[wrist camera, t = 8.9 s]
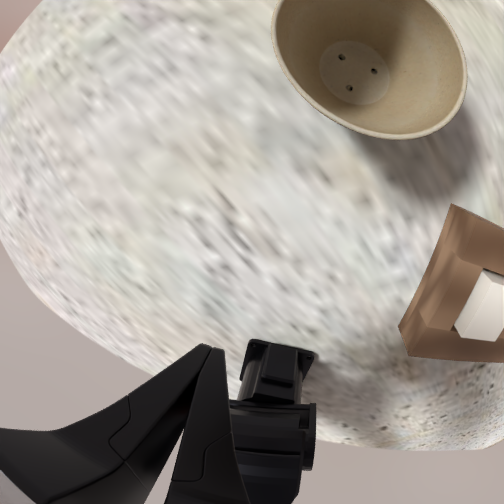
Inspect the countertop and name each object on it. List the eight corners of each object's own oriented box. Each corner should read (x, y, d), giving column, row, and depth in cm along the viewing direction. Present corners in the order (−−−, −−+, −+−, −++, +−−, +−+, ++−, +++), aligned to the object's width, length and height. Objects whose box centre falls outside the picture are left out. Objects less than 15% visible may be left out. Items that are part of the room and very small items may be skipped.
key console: (511, 342, 20) (523, 362, 16) (398, 326, 22) (408, 355, 18) (554, 259, 15) (572, 274, 11) (451, 203, 16) (476, 218, 13)
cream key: (481, 321, 17) (494, 341, 15) (448, 315, 18) (461, 337, 15) (506, 275, 15) (523, 292, 13) (474, 263, 16) (492, 281, 13)
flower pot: (436, 122, 14) (491, 122, 8) (315, 156, 18) (323, 166, 11) (382, 7, 11) (410, -37, 5) (260, 36, 14) (237, -9, 8)
